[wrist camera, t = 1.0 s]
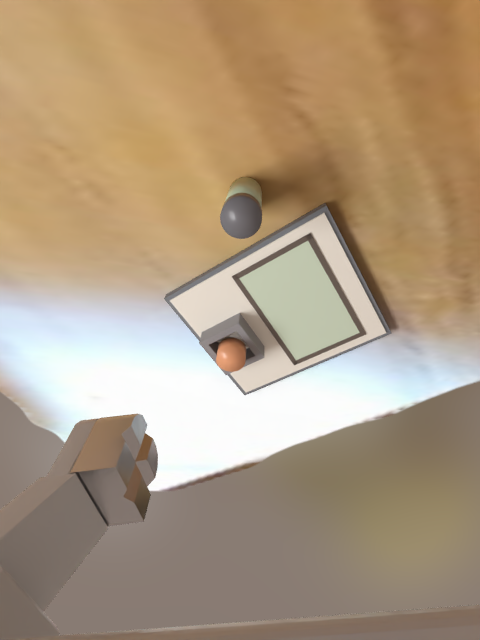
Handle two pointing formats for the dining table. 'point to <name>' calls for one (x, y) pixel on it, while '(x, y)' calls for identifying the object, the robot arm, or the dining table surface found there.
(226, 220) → the marker
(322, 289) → the cream board with holder
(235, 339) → the button
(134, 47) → the dining table surface
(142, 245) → the dining table surface
